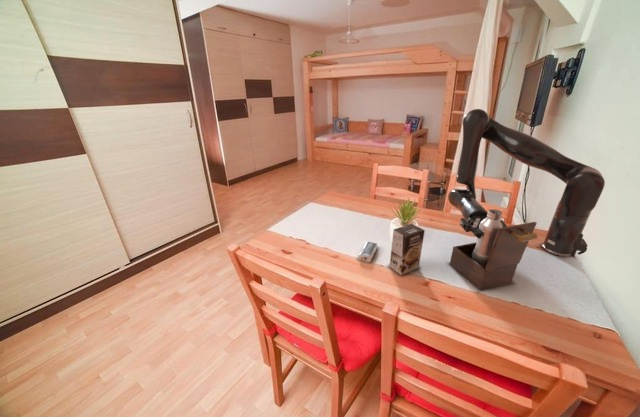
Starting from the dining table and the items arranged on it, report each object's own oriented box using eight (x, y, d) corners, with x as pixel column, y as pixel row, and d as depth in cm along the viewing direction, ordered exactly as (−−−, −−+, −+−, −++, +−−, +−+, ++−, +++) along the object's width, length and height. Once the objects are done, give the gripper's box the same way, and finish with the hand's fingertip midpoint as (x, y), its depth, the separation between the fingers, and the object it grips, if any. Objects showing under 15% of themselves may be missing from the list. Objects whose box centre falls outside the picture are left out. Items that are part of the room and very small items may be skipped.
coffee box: (401, 275, 93) (405, 237, 87) (389, 266, 99) (392, 228, 92) (419, 267, 97) (425, 230, 90) (407, 259, 102) (411, 222, 96)
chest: (449, 264, 98) (453, 246, 95) (477, 258, 101) (482, 241, 98) (480, 290, 86) (485, 270, 82) (511, 282, 88) (517, 263, 85)
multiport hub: (377, 248, 110) (377, 243, 109) (369, 262, 101) (370, 257, 100) (366, 245, 112) (367, 241, 111) (358, 259, 103) (359, 254, 102)
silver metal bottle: (495, 269, 88) (511, 217, 80) (473, 267, 90) (487, 215, 81) (488, 258, 94) (503, 208, 85) (467, 256, 95) (480, 206, 87)
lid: (499, 227, 75) (514, 236, 71) (534, 221, 78) (550, 229, 74) (484, 269, 82) (497, 279, 78) (517, 262, 85) (530, 271, 81)
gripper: (456, 204, 99) (470, 225, 84) (498, 206, 96) (520, 228, 82) (452, 221, 102) (465, 245, 87) (492, 223, 100) (513, 248, 85)
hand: (491, 236), depth 85 cm, fingers closed on silver metal bottle, 6 cm apart
